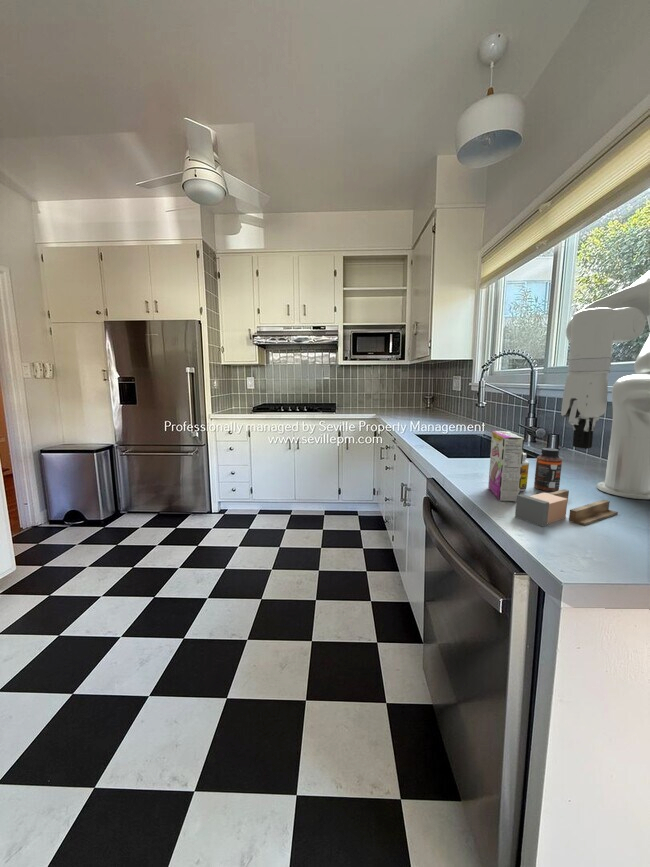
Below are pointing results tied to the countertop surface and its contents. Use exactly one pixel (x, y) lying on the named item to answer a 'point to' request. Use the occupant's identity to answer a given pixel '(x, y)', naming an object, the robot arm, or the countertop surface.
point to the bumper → (532, 510)
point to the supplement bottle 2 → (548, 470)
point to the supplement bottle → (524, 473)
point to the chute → (587, 510)
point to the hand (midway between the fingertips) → (582, 447)
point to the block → (553, 506)
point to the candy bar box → (505, 465)
